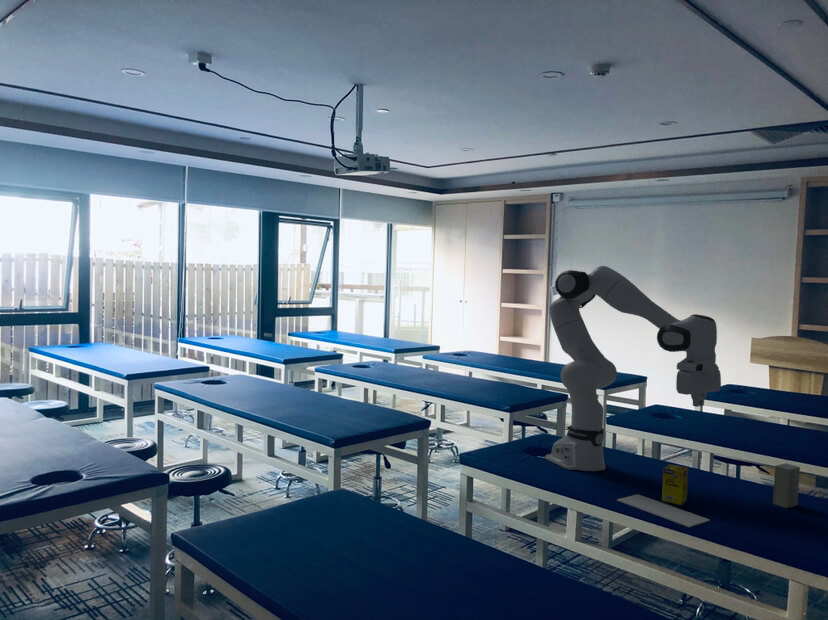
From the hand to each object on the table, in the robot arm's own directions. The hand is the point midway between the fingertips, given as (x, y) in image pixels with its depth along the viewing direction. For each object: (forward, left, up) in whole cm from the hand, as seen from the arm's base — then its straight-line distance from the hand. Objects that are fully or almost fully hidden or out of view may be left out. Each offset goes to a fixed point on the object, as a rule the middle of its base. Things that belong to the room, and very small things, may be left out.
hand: (698, 406), depth 204 cm
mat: (+8, -29, -27) cm, 41 cm away
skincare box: (+24, +10, -27) cm, 38 cm away
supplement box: (+6, -20, -27) cm, 34 cm away
